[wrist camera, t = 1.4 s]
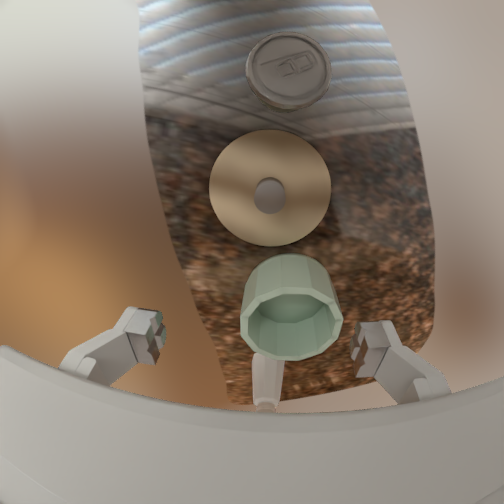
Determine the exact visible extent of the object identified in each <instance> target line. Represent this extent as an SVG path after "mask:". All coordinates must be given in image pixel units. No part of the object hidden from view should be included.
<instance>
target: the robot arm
mask: <svg viewBox="0 0 504 504" xmlns="http://www.w3.org/2000/svg"><path fill="white" fill-rule="evenodd" d="M162 319H163V316H162V312H160V311H157V310H150V309H144V308H136V307H130V306H129V307H127V309H126V310H125V311H124V313H123V314H122V316H121V317H120V319H119V320H118V322H117V323H116V325H115V326H114V328H113V329H112V330H111V329H109V330H107V331H105V332H103V333H101V334H99V335H98V336H96V337H94V338H92V339H90V340H88V341H86V342H84V343H83V344H81V345H79V346H77V347H75V348H74V349H72V350H70V351H69V352H68V353H67V355H66V356H65V358H64V359H63V361H62V362H61V364H60V365H59V367H58V368H55V367H52V366H50V365H48V364H45V363H43V362H41V361H38V360H36V359H34V358H32V357H30V356H27V355H25V354H23V353H21V352H19V351H17V350H15V349H13V348H12V347H10V346H6V345H3V346H0V504H504V377H501V378H498V379H495V380H493V381H490V382H487V383H484V384H481V385H478V386H475V387H472V388H469V389H466V390H462V391H459V392H455V393H451V390H450V388H449V386H448V383H447V381H446V379H445V377H444V375H443V373H442V372H440V371H439V370H438V369H437V368H435V367H434V366H432V365H431V364H430V363H428V362H427V361H426V360H424V359H423V358H422V357H420V356H419V355H417V354H416V353H415V352H413V351H412V350H411V349H409V348H408V347H407V346H403V345H402V343H401V341H400V339H399V337H398V334H397V332H396V330H395V328H394V326H393V324H392V322H391V321H390V320H385V321H362V322H357V323H356V325H355V328H354V329H355V334H354V335H353V336H352V337H351V341H350V348H349V349H350V356H351V358H352V359H353V360H354V364H353V368H354V373H355V377H374V378H375V379H376V380H377V381H378V382H379V383H380V385H381V386H382V387H383V388H384V389H385V390H386V391H387V392H388V393H389V394H390V395H391V397H392V398H393V399H394V400H395V401H396V402H397V403H398V404H397V405H395V406H388V407H381V408H373V409H364V410H355V411H341V412H323V413H267V412H250V411H237V410H227V409H217V408H209V407H202V406H195V405H189V404H183V403H177V402H172V401H167V400H161V399H157V398H152V397H147V396H144V395H139V394H135V393H131V392H127V391H123V390H120V389H116V388H113V387H110V385H111V384H112V383H114V382H115V381H116V380H117V379H119V378H120V377H121V376H122V375H124V374H125V373H126V372H127V371H129V370H130V369H131V368H132V367H134V366H135V365H136V364H137V362H138V363H144V364H150V365H156V362H157V360H158V358H159V355H160V352H159V349H160V348H162V347H163V345H164V344H165V340H166V329H165V326H164V325H163V324H162V323H161V322H162Z"/></svg>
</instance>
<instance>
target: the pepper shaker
mask: <svg viewBox="0 0 504 504" xmlns="http://www.w3.org/2000/svg"><path fill="white" fill-rule="evenodd" d="M284 364H285V360H273V359H271V358H268V357H266V356H264V355H261V354H259V353H255V354H254V356H253V359H252V384H253V404H254V405H256V406H257V409H256V412H267V413H276V412H275V410H276V409H275V407H277V405H278V404H279V401H280V395H281V387H282V380H283V372H284Z"/></svg>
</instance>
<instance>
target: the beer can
mask: <svg viewBox="0 0 504 504" xmlns="http://www.w3.org/2000/svg"><path fill="white" fill-rule="evenodd" d="M246 78H247V80H248V83H249V85H250V88H251V89H252V91H253V92H254V93H255V95H256V96H257V97H258V99H259V100H260V101H261V102H262V103H263V105H264V106H266V107H267V108H269V109H270V110H273V111H276V112H280V113H288V112H292V111H295V110H298V109H301V108H304V107H307V106H310V105H312V104H313V103H315V102H316V101H318V100H319V99H321V97H322V96H323V95H324V94H325V92H326V91H327V90H328V87H329V84H330V81H331V63H330V61H329V58H328V56H327V53H326V52H325V51H324V49H323V48H322V47H321V46H320V45H319V43H317V42H316V41H314V40H313V39H311V38H310V37H308V36H306V35H302V34H299V33H296V32H279V33H275V34H272V35H269V36H267V37H265V38H264V39H262V40H261V41H259V42H258V43H257V44H256V45H255V47H254V48H253V49H252V50H251V52H250V53H249V55H248V58H247V62H246Z"/></svg>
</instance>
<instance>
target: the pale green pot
mask: <svg viewBox="0 0 504 504" xmlns="http://www.w3.org/2000/svg"><path fill="white" fill-rule="evenodd" d="M240 323H241V337H242V338H243V339H244V340H245V341H246V343H247V344H248V345H249V346H250V348H251V349H252V350H253V351H254V352H257V353H259V354H261V355H264V356H266V357H268V358H271V359H273V360H289V361H299V360H302V359H305V358H308V357H311V356H314V355H317V354H320V353H322V352H323V351H324V350H325V349H327V348H328V347H329V346H330V345H331V344H332V343H333V342H334V341H336V340H337V339H338V336H339V333H340V329H341V326H342V323H343V316H342V312H341V309H340V305H339V301H338V298H337V295H336V291H335V288H334V286H333V283H332V281H331V278H330V276H329V273H328V272H327V270H326V269H325V267H324V266H323V265H322V264H321V263H320V262H318V261H317V260H315V259H314V258H312V257H309V256H307V255H303V254H299V253H283V254H278V255H274V256H272V257H269V258H267V259H265V260H264V261H262V262H261V263H260V264H258V265H257V266H256V267H255V268H254V270H253V271H252V272H251V274H250V276H249V278H248V281H247V283H246V284H245V290H244V296H243V303H242V309H241V315H240Z"/></svg>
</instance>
